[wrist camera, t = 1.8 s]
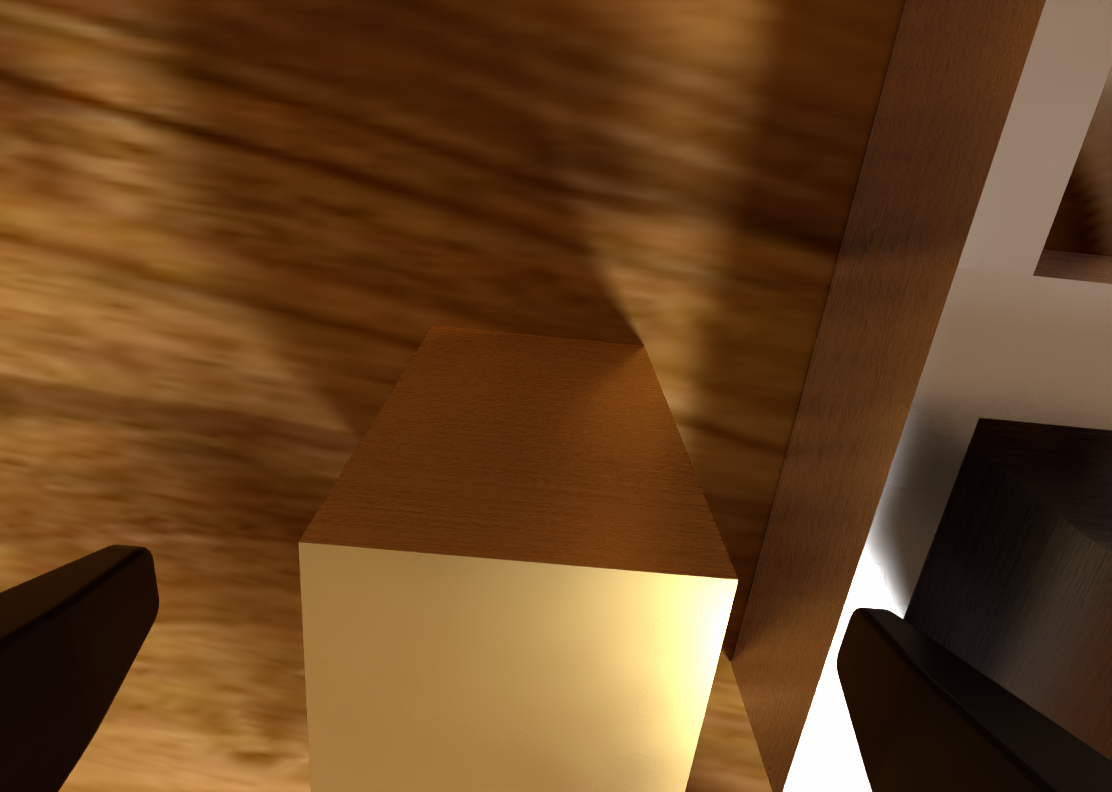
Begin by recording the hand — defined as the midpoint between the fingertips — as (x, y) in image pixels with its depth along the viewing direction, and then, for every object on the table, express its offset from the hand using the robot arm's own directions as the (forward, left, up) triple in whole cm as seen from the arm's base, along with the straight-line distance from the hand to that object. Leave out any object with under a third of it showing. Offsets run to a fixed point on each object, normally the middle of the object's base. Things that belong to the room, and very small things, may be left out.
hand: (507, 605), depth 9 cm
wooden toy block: (0, 0, -5) cm, 5 cm away
